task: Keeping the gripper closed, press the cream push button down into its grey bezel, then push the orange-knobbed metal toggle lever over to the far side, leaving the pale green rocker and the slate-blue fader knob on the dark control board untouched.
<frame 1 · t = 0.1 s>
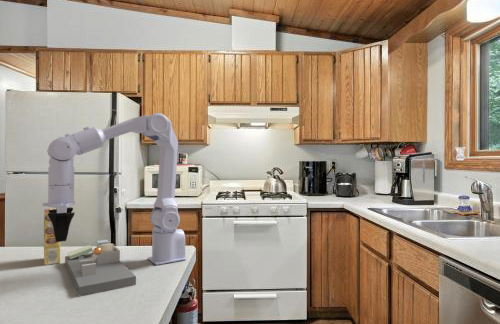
hand: (61, 238, 82), 10 cm above the countertop, tool pointing down, fingers open, 7 cm apart
button: (106, 250, 89), point 5 cm above the countertop, slide at 0.0 cm
lever: (93, 258, 80), point 5 cm above the countertop, hinge at -30.0°
fader: (102, 247, 96), point 4 cm above the countertop, slide at 0.0 cm
panel: (96, 272, 85), on the countertop
candy box: (51, 261, 96), on the countertop
rocker: (80, 251, 93), point 4 cm above the countertop, hinge at 15.0°
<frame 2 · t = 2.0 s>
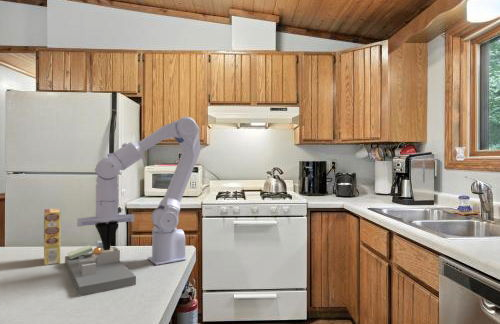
hand: (106, 249, 89), 5 cm above the countertop, tool pointing down, fingers closed, pressing on button
button: (106, 254, 89), point 4 cm above the countertop, slide at 1.2 cm, touching gripper
everything else where it was.
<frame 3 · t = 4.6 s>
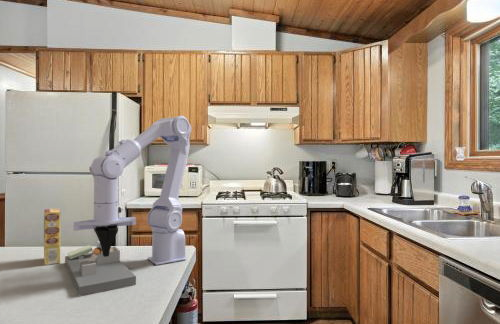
hand: (105, 255, 82), 5 cm above the countertop, tool pointing down, fingers closed, pressing on lever
button: (106, 254, 89), point 4 cm above the countertop, slide at 1.2 cm
lever: (93, 258, 80), point 5 cm above the countertop, hinge at -30.0°, touching gripper
everything else where it was.
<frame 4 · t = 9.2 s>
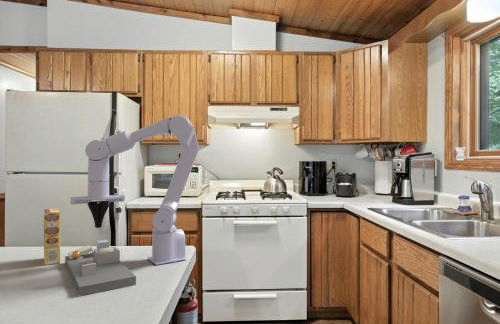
hand: (98, 227, 95), 10 cm above the countertop, tool pointing down, fingers closed
lever: (81, 260, 79), point 5 cm above the countertop, hinge at 34.2°
everything else where it was.
at the end: button slide at 1.2 cm; lever at +34° (first picture: -30°); rocker at +15° (first picture: +15°) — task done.
